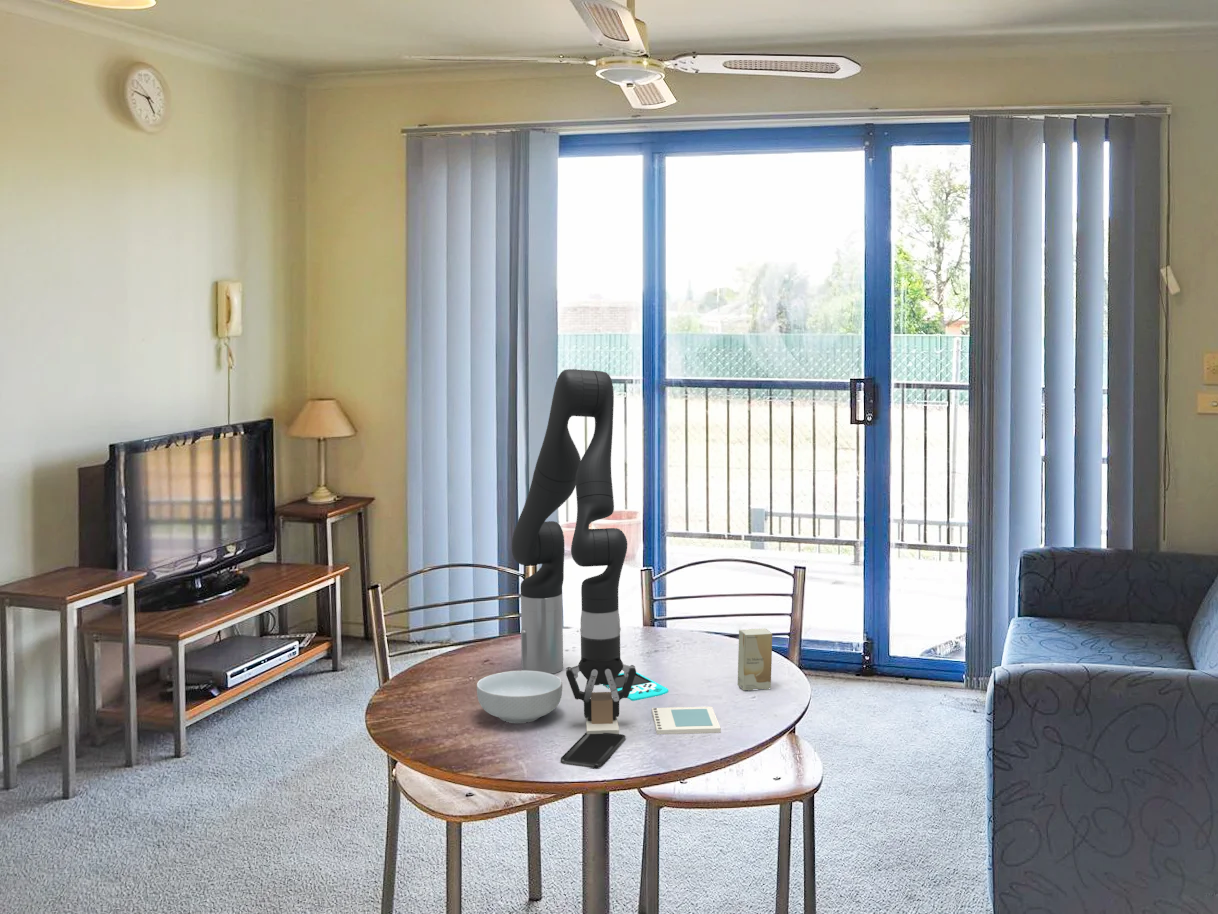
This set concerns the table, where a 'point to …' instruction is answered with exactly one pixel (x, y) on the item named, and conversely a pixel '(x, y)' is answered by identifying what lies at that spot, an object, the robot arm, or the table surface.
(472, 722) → the table surface
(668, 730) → the ticket pad
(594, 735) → the phone
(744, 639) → the skincare box
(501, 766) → the table surface
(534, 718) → the cereal bowl
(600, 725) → the brown cream block
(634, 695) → the handheld game console
